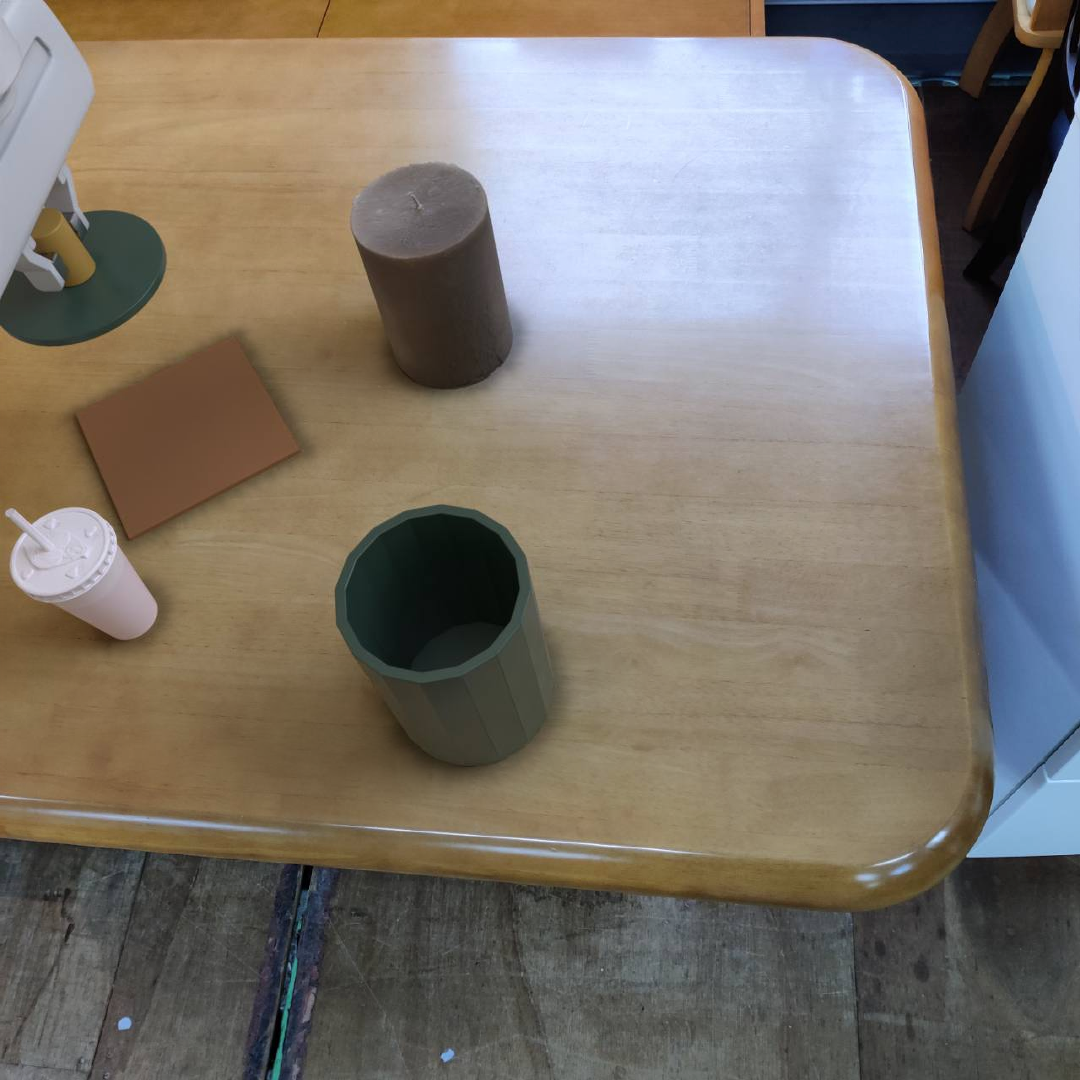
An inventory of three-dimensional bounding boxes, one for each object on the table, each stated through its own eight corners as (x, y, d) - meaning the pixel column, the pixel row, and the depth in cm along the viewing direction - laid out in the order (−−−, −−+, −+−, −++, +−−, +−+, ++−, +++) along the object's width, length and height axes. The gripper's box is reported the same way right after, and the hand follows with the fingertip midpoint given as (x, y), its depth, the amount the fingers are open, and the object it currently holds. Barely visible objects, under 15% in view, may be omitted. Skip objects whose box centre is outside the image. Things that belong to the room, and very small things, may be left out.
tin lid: (123, 364, 57) (78, 303, 53) (-33, 341, 60) (-89, 281, 55) (199, 232, 62) (163, 166, 58) (52, 216, 65) (7, 152, 60)
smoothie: (107, 572, 69) (-8, 463, 57) (189, 579, 68) (89, 470, 56) (73, 654, 66) (-55, 557, 54) (159, 662, 65) (47, 566, 53)
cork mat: (131, 542, 70) (128, 538, 70) (78, 417, 77) (74, 413, 76) (302, 452, 73) (300, 449, 72) (236, 339, 79) (234, 335, 79)
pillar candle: (498, 396, 74) (466, 249, 61) (379, 383, 75) (323, 238, 62) (524, 302, 78) (500, 147, 65) (411, 293, 80) (366, 140, 67)
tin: (532, 782, 58) (499, 700, 46) (377, 747, 60) (306, 660, 48) (569, 633, 63) (550, 521, 50) (425, 605, 65) (372, 491, 53)
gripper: (-62, -64, 52) (70, 148, 64) (-236, 194, 43) (-41, 388, 54) (44, -71, 52) (158, 145, 64) (-108, 190, 42) (61, 387, 54)
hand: (65, 259), depth 59 cm, fingers closed on tin lid, 2 cm apart
